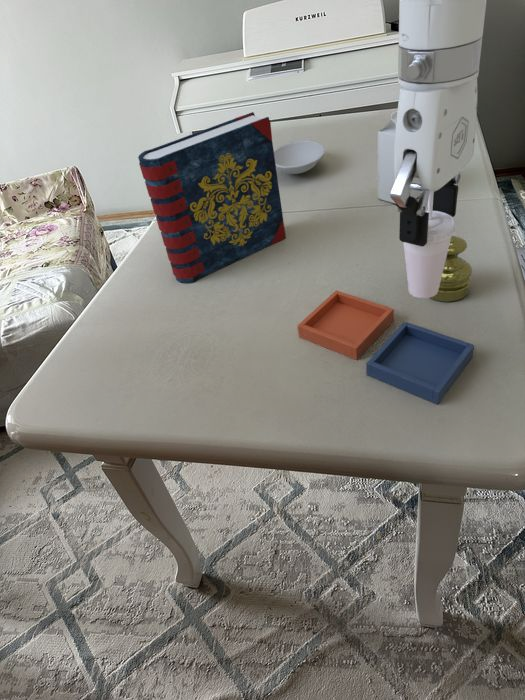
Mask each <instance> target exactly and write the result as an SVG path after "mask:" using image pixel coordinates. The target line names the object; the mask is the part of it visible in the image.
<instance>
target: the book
mask: <svg viewBox="0 0 525 700" xmlns="http://www.w3.org/2000/svg"><path fill="white" fill-rule="evenodd" d="M271 123H272V122H271V119H270V117H269V116H266V117H263V118H262V117H259V116H257V115H256V114H255V112H253V111H251V112H249V113H246V114H244V115H239V116H237V117H235V118H233V119H230V120H227V121H224V122H222V123H219V124H217V125H213V126H210V127H207V128H205V129H203V130H199V131H198V132H197V131H196V132H195V133H192V134H189V135H186V136H184V137H180V138H177V139H175V140H173V141H170V142H167V143H164V144H161V145H158V146H156V147H153V148H151V149H147V150H144V151H142V152H141V153H140V154H139V155H138V156H137V158H138V161H139V168H140V171H141V174H142V175H141V176H142V177H143V179H144V184H145V188H146V191H147V194H148V197H149V198H150V204H151V206H152V210H153V213H154V215H156V216H155V219H156V224H157V227H158V230H159V231H160V234H161V239H162V242H163V246H164V247H165V251H166V254H167V258H168V261H169V262H170V266H171V270H172V275H173V276H174V277H175V279H176V281H177V282H179V283H182V284H193V283H195V282H197V281H198V280H200V279H202V278H205V277H207V276H209V275H211V274H213V273H215V272H217V271H219V270H221V269H223V268H225V267H228V266H229V265H232V264H234V263H236V262H238V261H240V260H242V259H244V258H246V257H249V256H251V255H252V254H255V253H257V252H259V251H261V250H264V249H266V248H268V247H269V246H272V245H274V244H277V243H279V242H281V241H283V240H284V239H286V238H287V237H286V236H287V235H286V229H285V222H284V215H283V208H282V202H281V194H280V186H279V180H278V173H277V167H276V164H275V157H274V143H273V133H272V124H271Z"/></svg>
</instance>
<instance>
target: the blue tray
mask: <svg viewBox="0 0 525 700" xmlns="http://www.w3.org/2000/svg"><path fill="white" fill-rule="evenodd" d="M474 352H475V344H473V343H470V342H468V341H464V340H461V339H458V338H455V337H452V336H450V335H447V334H446V335H445V334H443V333H440V332H437V331H434V330H431V329H428V328H425V327H422V326H419V325H417V324H414V323H411V322H407V321H403V322H402V324H401V325H400V326H399V327H398V328H397V329H396V330H395V331H394V332H393V333H392V334H391V336H389V338H388V339H387V340H386V341H385V342H384V343H383V344H382V346H381V347H379V349H377V351H376V352H375V353H374V354H373V355H372V356H371V357H370V359H369V360H368V361H367V362H366V364H365V365H366V368H365V369H366V376H367V377H370V378H372V379H375V380H377V381H380V382H382V383H384V384H387V385H390V386H392V387H395V388H397V389H399V390H401V391H404V392H406V393H409V394H411V395H413V396H416V397H418V398H420V399H423V400H425V401H428V402H430V403H433V404H435V405H439V404H440V402H441V401H442V399H443V398H444V397H445V396H446V394H447V393H448V392H449V391H450V389H451V387H452V386H453V385H454V384H455V382H456V381H457V379H459V376H460V375H461V374H462V373H463V371H464V370H465V369H466V367H467V366H468V364H469V363H470V362H471V361H472V360H473V357H474Z"/></svg>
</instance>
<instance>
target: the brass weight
mask: <svg viewBox="0 0 525 700" xmlns="http://www.w3.org/2000/svg"><path fill="white" fill-rule="evenodd" d="M467 247H468V243H467V241H466V240H465V239H464V238H462V237H459V236H456V235H452V236H451V240H450V245H449V248H448V252H447V257H446V261H445V265H444V269H443V273H442V277H441V282H440V286H439V290H438V293H437V294H436V295H435V296H433V297H430V299H432V300H435V301H439V302H445V303H448V302H456V301H459V300H462V299H463V298H465V297H466V296H467V295H468V293H469V292H470V285H471V281H472V280H471V276H472V273H473V269H472V266H471V264H470V263H469V262H468V261H467V260H465V259H463V258H462V257H461V256H459V255H460V254H462V253H464V252H465V251H466V250H467Z"/></svg>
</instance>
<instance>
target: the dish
mask: <svg viewBox="0 0 525 700" xmlns="http://www.w3.org/2000/svg"><path fill="white" fill-rule="evenodd" d="M273 150H274V157H275V164H276V169H278V170H279V171H281V172H282V173H285V174H289V175H299V174H303V173H306V172H308V171H310V170H311V169H313V168H314V167H315V166H316V165H317V164H318V163H319V161H320V160H321V159H322V158H323V156H325V153H326V148H325V145H323V143H321V142H319V141H316V140H309V139H300V140H294V141H290V142H289V141H288V142H287V143H283V144H280V145H279V146H277V147H276V148H273Z"/></svg>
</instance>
